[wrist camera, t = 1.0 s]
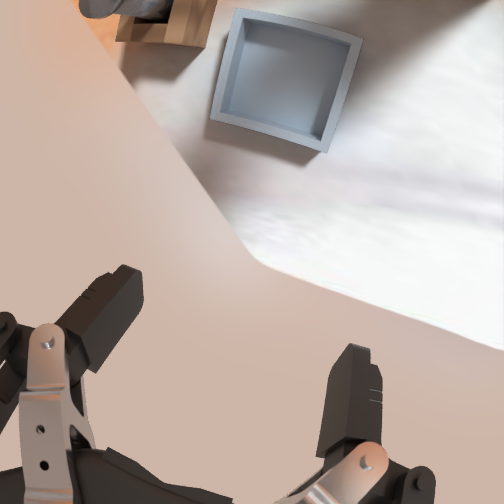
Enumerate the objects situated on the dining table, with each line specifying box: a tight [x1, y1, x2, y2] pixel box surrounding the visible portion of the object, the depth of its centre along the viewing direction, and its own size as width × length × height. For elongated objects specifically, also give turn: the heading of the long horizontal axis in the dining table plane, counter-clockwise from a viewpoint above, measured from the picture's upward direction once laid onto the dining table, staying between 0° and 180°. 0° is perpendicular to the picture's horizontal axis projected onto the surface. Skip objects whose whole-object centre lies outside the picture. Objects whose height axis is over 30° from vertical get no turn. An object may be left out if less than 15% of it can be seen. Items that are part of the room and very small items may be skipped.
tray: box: [209, 8, 363, 153], centre depth 27 cm, size 13×13×4 cm
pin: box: [79, 0, 174, 23], centre depth 20 cm, size 5×5×15 cm
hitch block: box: [115, 0, 217, 48], centre depth 24 cm, size 9×9×6 cm
